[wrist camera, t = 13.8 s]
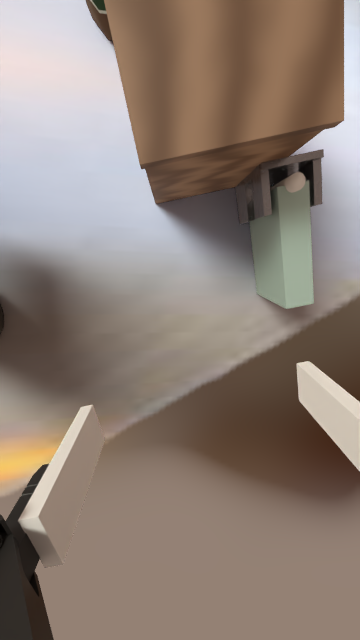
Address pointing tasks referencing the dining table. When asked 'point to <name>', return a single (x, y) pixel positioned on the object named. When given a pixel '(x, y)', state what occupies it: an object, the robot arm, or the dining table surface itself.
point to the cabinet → (225, 84)
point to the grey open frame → (274, 174)
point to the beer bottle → (100, 16)
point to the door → (285, 245)
